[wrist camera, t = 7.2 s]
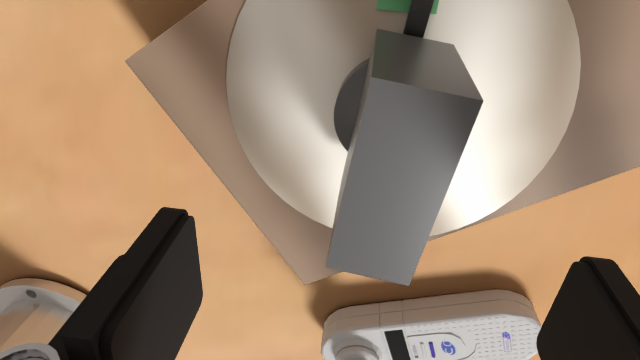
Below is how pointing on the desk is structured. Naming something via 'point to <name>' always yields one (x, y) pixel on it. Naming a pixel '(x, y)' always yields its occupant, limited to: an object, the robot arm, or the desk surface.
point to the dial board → (355, 47)
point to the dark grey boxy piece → (398, 148)
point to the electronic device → (435, 329)
